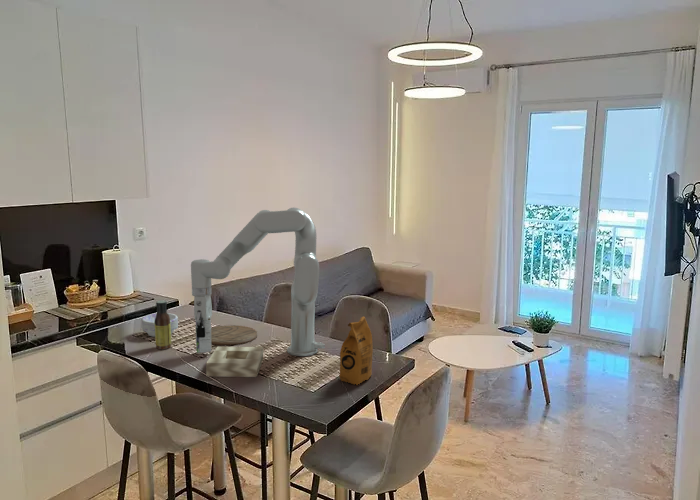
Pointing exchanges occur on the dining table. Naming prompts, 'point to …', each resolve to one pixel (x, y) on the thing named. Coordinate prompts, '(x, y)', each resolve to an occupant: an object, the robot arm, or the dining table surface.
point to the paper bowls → (149, 323)
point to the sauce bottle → (162, 326)
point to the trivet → (232, 335)
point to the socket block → (235, 362)
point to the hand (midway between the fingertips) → (203, 333)
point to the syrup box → (205, 342)
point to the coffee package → (357, 353)
